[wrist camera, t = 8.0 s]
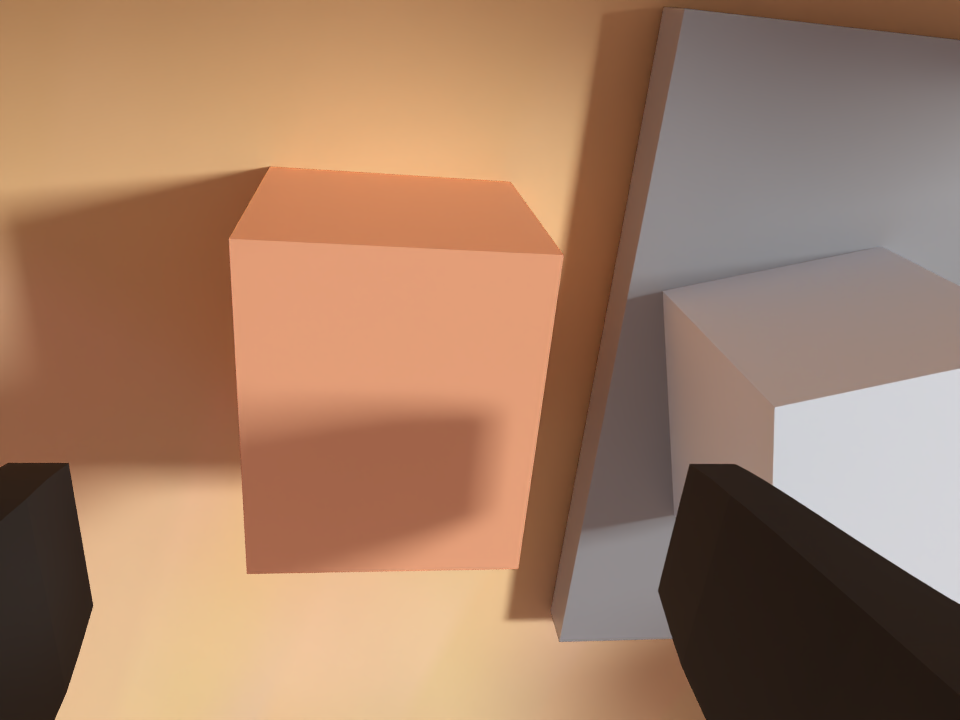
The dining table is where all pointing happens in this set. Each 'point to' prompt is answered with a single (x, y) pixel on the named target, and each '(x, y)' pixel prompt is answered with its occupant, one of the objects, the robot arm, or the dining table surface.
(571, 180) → the dining table surface
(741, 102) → the gray block
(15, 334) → the dining table surface
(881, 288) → the tall white block
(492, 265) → the terracotta brick
